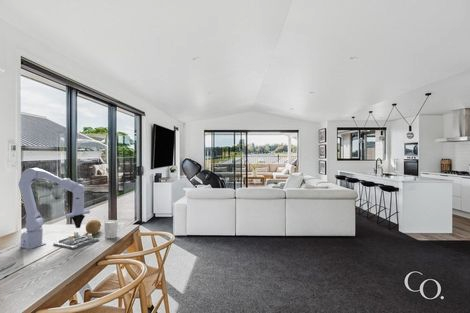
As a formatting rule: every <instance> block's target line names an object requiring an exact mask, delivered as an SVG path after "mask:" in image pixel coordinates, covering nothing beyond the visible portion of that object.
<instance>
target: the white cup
mask: <svg viewBox="0 0 470 313" xmlns="http://www.w3.org/2000/svg"><path fill="white" fill-rule="evenodd" d="M118 227H119V221H118V220H117V219H109V220H105V221H104V237H105V239H110V238H111V239H115V238H117V237H116V236H118V235H117V234H118ZM114 237H115V238H114Z"/></svg>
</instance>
